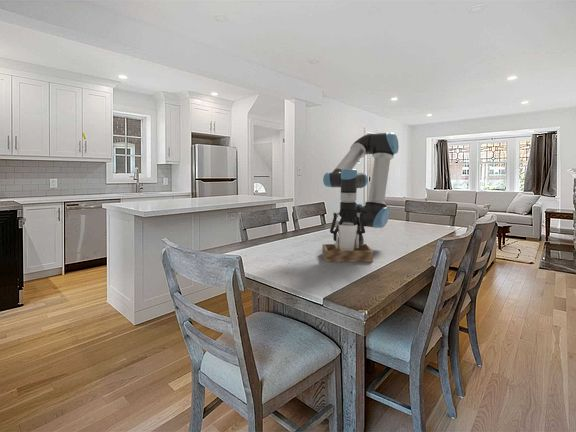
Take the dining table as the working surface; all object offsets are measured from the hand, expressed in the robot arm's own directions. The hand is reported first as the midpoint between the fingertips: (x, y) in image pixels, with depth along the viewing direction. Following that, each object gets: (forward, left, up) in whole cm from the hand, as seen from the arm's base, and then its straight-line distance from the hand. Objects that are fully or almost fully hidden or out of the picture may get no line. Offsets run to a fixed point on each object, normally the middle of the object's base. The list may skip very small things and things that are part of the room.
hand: (346, 247), depth 163 cm
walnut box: (0, 0, -5) cm, 5 cm away
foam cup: (0, 0, -2) cm, 2 cm away
